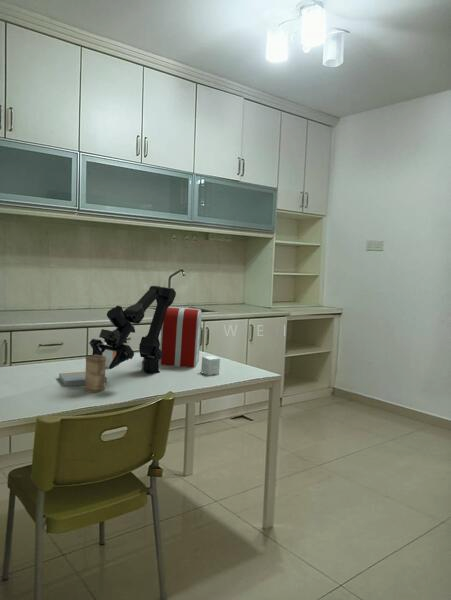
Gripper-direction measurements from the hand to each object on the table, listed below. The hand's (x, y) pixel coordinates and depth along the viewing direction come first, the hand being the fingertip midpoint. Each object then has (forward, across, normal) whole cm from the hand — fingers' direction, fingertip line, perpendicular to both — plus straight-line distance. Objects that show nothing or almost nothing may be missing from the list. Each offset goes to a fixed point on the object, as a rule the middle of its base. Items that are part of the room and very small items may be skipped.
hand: (100, 366), depth 174 cm
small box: (-14, -20, +26) cm, 36 cm away
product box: (-28, +22, +41) cm, 54 cm away
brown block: (+8, 0, +4) cm, 9 cm away
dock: (+3, -12, +9) cm, 16 cm away
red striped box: (-34, 0, +46) cm, 57 cm away
